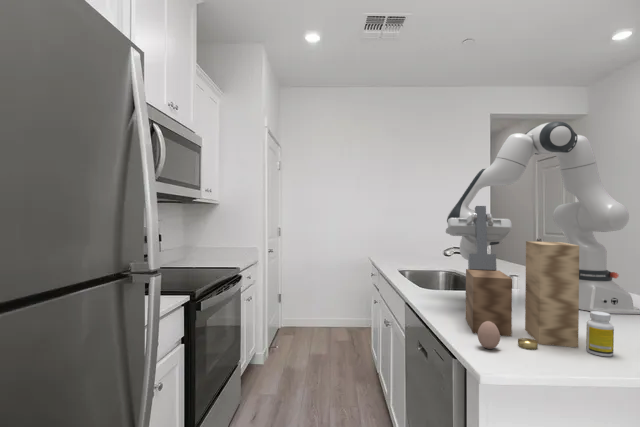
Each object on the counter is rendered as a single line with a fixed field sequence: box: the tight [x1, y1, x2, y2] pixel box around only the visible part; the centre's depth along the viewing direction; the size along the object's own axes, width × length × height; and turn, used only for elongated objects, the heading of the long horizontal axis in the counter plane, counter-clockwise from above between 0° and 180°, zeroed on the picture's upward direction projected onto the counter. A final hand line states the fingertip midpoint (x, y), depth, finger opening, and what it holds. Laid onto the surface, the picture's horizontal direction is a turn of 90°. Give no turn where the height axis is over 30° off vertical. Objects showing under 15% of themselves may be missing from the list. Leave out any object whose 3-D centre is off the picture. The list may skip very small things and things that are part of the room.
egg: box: [477, 321, 501, 350], centre depth 96 cm, size 5×5×7 cm
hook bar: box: [467, 205, 498, 270], centre depth 125 cm, size 21×8×3 cm
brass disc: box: [517, 337, 539, 351], centre depth 97 cm, size 4×4×2 cm
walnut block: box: [465, 268, 513, 337], centre depth 114 cm, size 10×16×16 cm, turn 166°
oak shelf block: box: [524, 240, 580, 348], centre depth 104 cm, size 9×13×26 cm
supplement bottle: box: [585, 311, 615, 357], centre depth 93 cm, size 5×5×10 cm
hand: (481, 215), depth 124 cm, fingers closed on hook bar, 3 cm apart
